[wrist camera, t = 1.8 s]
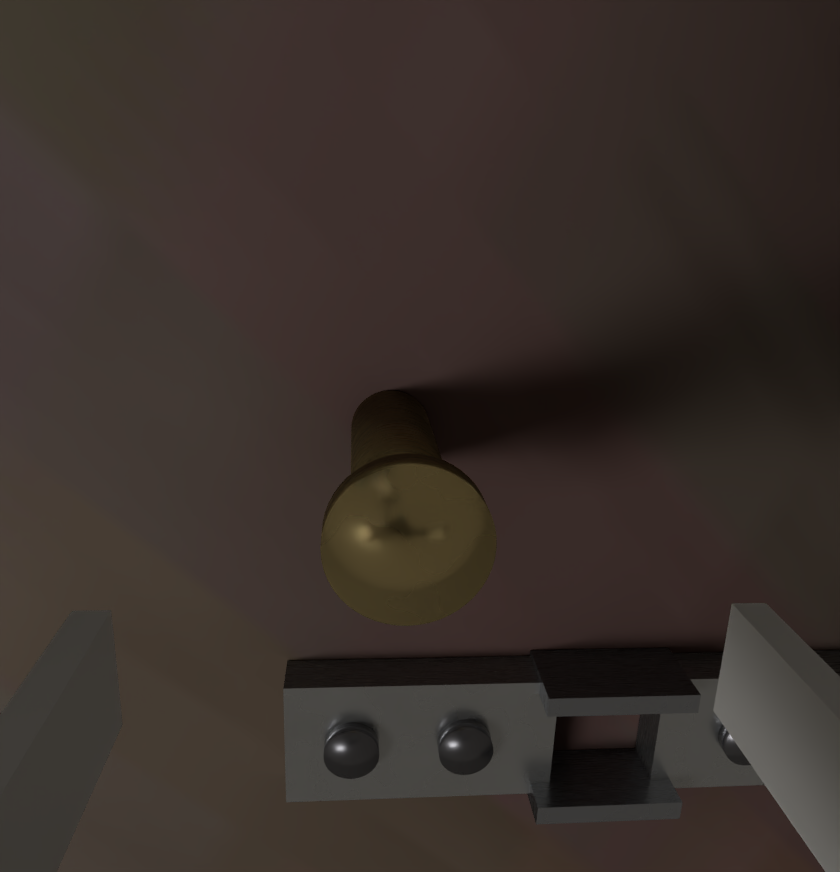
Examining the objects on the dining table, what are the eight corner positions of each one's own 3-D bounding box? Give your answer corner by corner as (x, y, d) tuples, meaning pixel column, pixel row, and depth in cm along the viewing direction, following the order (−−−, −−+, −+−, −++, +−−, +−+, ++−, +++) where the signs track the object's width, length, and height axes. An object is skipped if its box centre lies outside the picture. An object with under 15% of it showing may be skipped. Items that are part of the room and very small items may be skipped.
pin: (331, 369, 30) (319, 465, 20) (451, 371, 30) (502, 466, 20) (331, 482, 31) (321, 626, 21) (445, 482, 32) (490, 624, 22)
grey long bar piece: (289, 774, 36) (283, 834, 33) (287, 655, 34) (280, 705, 31) (861, 755, 38) (909, 809, 35) (890, 643, 36) (944, 688, 33)
